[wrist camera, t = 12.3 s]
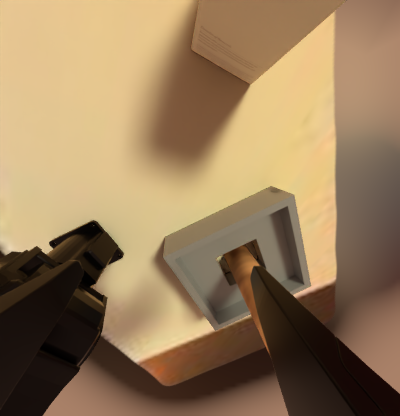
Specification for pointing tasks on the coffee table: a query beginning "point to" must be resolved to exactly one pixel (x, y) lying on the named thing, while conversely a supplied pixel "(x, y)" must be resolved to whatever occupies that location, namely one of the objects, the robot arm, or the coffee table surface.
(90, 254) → the robot arm
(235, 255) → the orange peg
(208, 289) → the socket box
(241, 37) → the supplement box
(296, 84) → the coffee table surface
